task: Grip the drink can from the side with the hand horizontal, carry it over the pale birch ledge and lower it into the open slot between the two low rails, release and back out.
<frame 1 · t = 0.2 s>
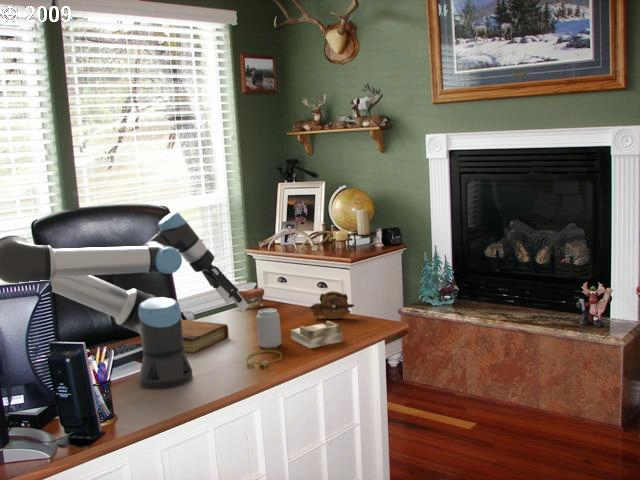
hand: (238, 305, 235), 15 cm above the table, tool tilted 35°, fingers open, 13 cm apart
can: (270, 346, 241), on the table
torc: (262, 362, 226), on the table
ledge: (316, 339, 244), on the table
diary: (185, 344, 250), on the table
wooden carving: (333, 319, 269), on the table
bull figurine: (249, 307, 294), on the table
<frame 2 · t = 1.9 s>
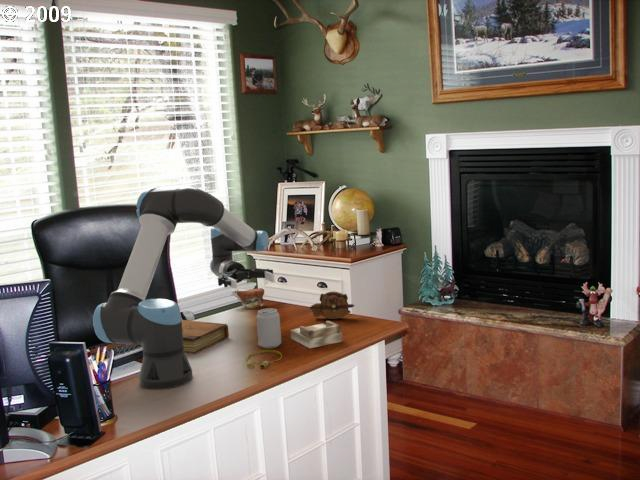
hand: (254, 281, 246), 20 cm above the table, tool horizontal, fingers open, 13 cm apart
nothing on the table moved.
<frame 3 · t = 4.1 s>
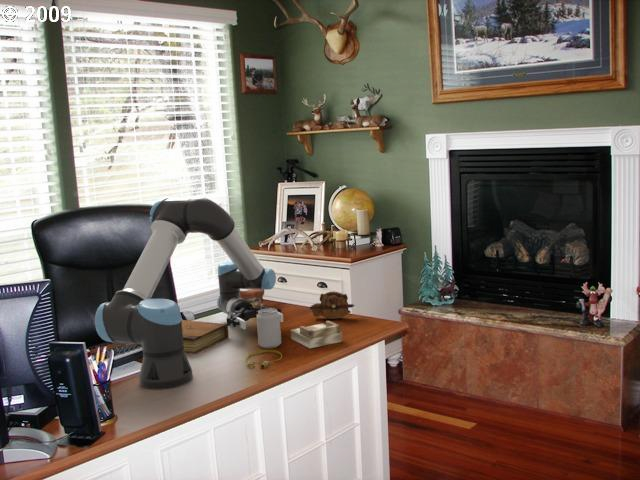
hand: (263, 321, 245), 7 cm above the table, tool horizontal, fingers open, 13 cm apart
nothing on the table moved.
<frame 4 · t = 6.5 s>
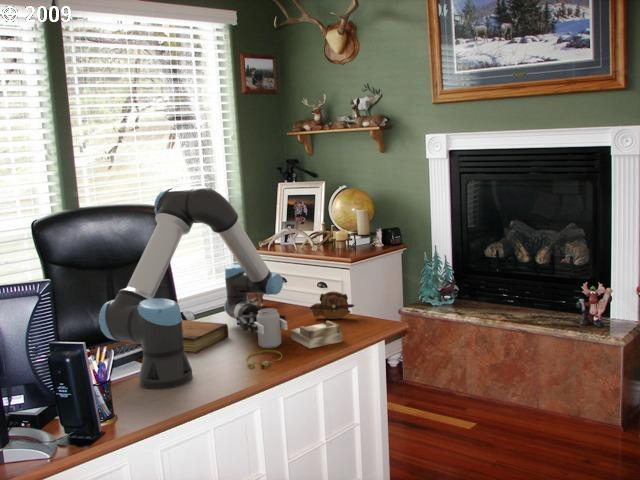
hand: (274, 328, 235), 7 cm above the table, tool horizontal, fingers closed on can, 7 cm apart
can: (270, 346, 241), on the table, touching gripper
everything else where it was.
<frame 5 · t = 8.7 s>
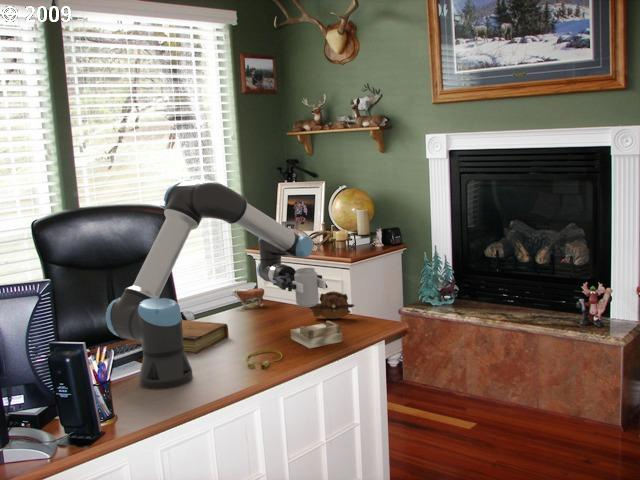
hand: (313, 286, 235), 19 cm above the table, tool horizontal, fingers closed on can, 7 cm apart
can: (307, 305, 241), point 12 cm above the table, touching gripper
everything else where it was.
when the fingers open (11 cm above the table, at t = 11.2 s): can drops 1 cm, resting on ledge.
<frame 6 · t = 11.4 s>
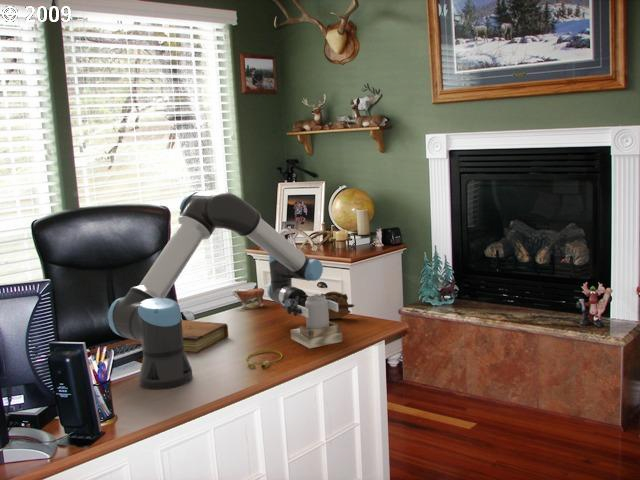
hand: (322, 310, 237), 11 cm above the table, tool horizontal, fingers open, 10 cm apart
can: (318, 332, 242), point 3 cm above the table, touching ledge
everything else where it was.
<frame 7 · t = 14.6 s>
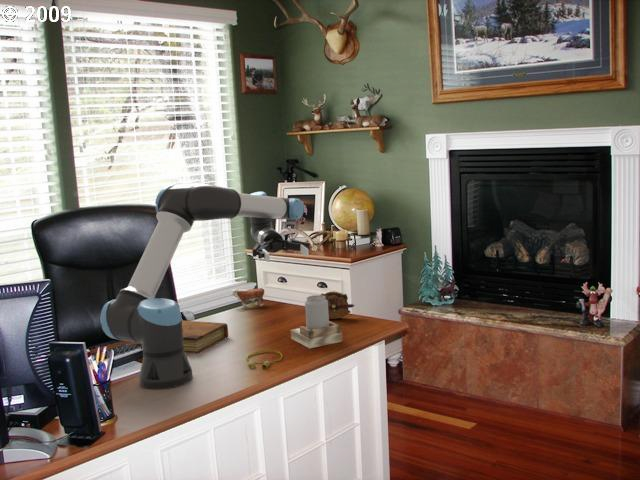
hand: (288, 255, 243), 28 cm above the table, tool horizontal, fingers open, 13 cm apart
nothing on the table moved.
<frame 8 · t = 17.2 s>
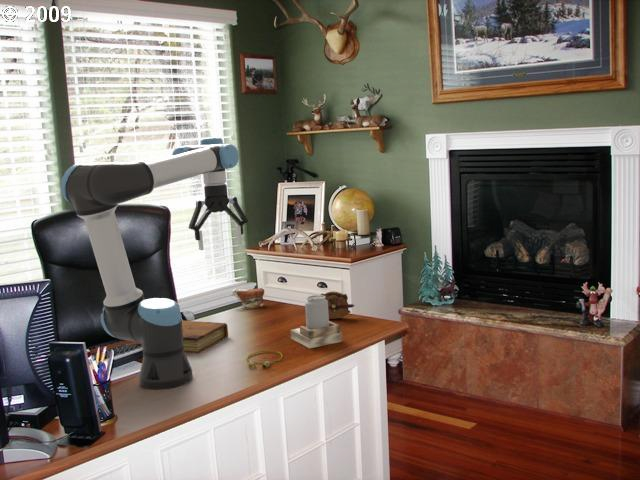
hand: (220, 247, 248), 32 cm above the table, tool pointing down, fingers open, 13 cm apart
nothing on the table moved.
at the end: can 0.4 cm from the target spot on the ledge, point 2.8 cm above the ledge's base; can tilted 0°; the gripper is holding nothing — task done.
